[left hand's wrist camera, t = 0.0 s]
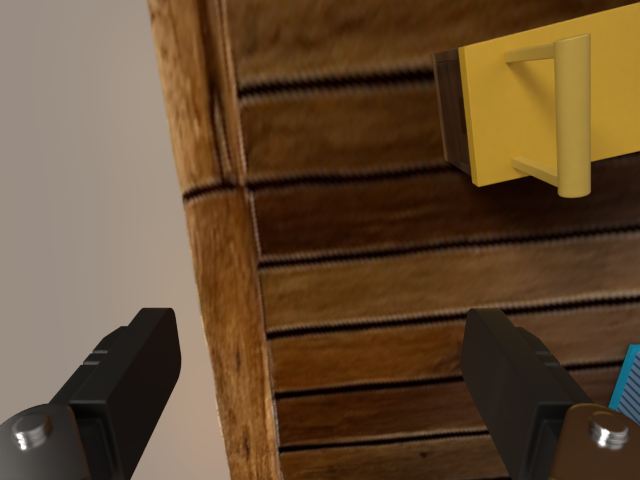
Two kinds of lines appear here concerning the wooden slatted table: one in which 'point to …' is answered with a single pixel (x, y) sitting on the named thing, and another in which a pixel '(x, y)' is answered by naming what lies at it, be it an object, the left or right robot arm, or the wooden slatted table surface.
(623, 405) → the model building
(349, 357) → the wooden slatted table surface
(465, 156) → the chest
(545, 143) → the lid
